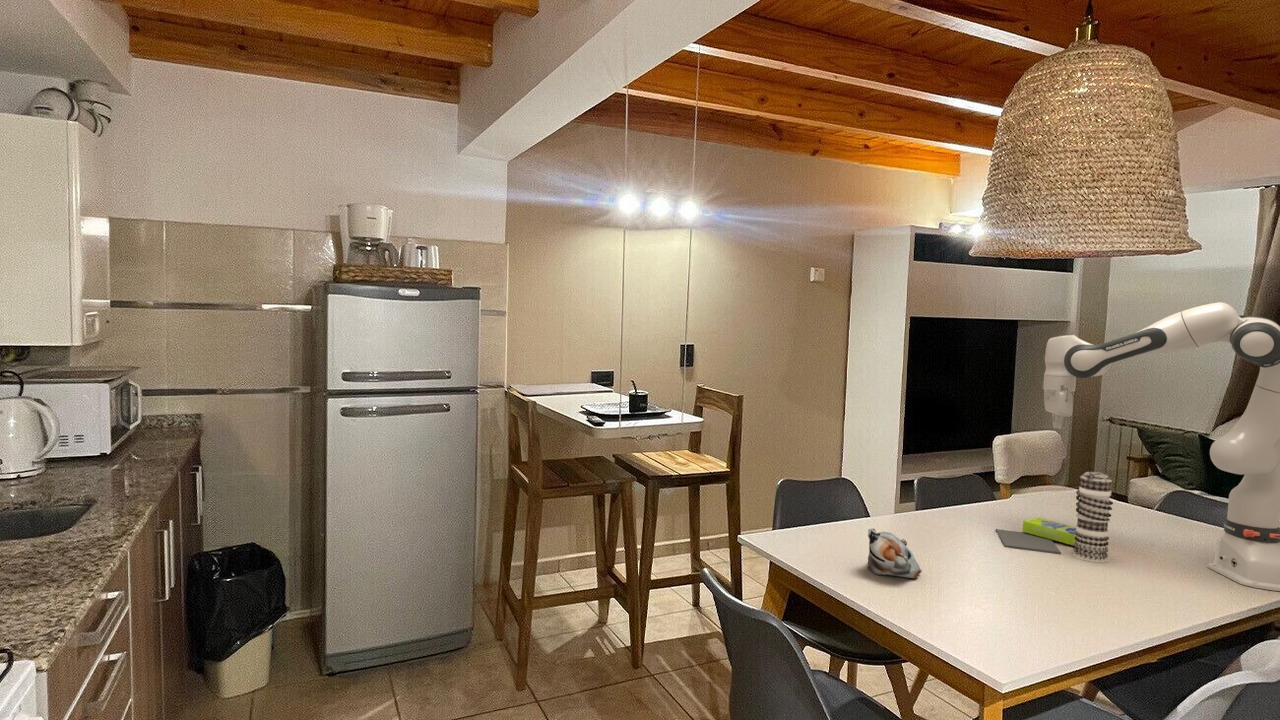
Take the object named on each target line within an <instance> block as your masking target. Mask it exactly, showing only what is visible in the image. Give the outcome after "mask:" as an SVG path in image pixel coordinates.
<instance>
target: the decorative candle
mask: <svg viewBox="0 0 1280 720" xmlns="http://www.w3.org/2000/svg"><path fill="white" fill-rule="evenodd" d="M1079 478H1080V483H1079V487H1078V489H1077V490H1076V491H1075V493H1076V496H1075V499H1076V500H1077V502H1076V503H1075V505H1076V508H1075V512H1077V513H1076V514H1075V516H1076V518H1077V522H1076V523H1077V524H1076V527H1075V528H1076V532H1075V535H1077V536H1076V537H1074V538H1075V540H1076V542H1075V543H1074V546H1073V547H1074V548H1073V553H1072V555H1073V557H1075V558H1077V559H1078V560H1082V561H1086V562H1089V563H1100V564H1102V563H1107V562H1108V556H1109V555H1108V552H1109V548H1108V547H1107V546H1109V542H1108V541H1109V540H1110V538H1109V530H1108V527H1109V525H1108V523H1110V522H1111V519H1110V518H1111V517H1112V514H1111V513H1110V512H1109V511H1112V510H1113V507H1111V506H1112V505H1113V504H1114V503H1113V501H1111V500H1110V499H1113V498H1114V495H1113V494H1112V490H1111V488H1112V485H1111V484H1112V482H1113V480H1112V479H1111V478H1110V476H1109V475H1108V474H1106V473H1103V472H1099V471H1098V472H1097V471H1086V472H1084V473H1083V474H1082V475H1079Z"/></svg>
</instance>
